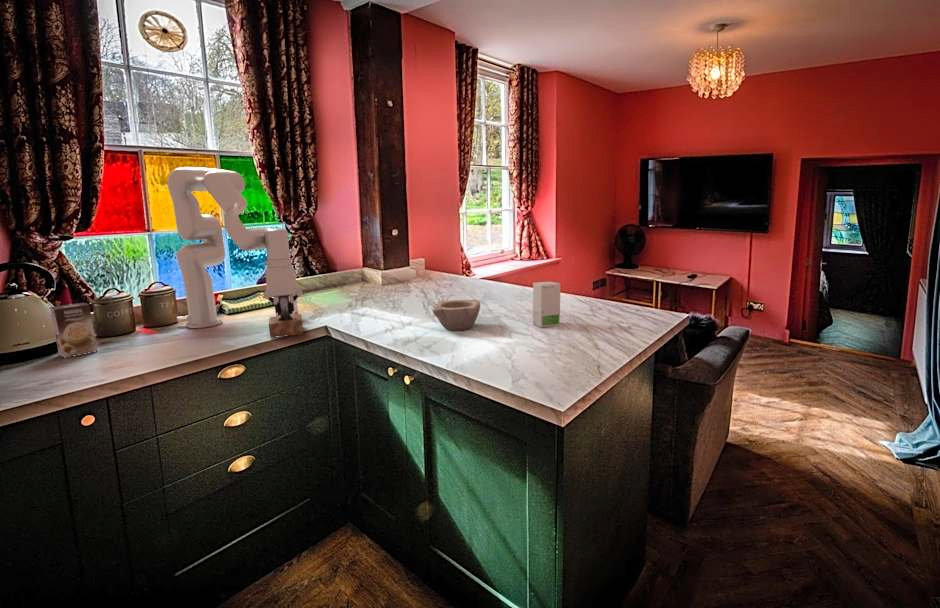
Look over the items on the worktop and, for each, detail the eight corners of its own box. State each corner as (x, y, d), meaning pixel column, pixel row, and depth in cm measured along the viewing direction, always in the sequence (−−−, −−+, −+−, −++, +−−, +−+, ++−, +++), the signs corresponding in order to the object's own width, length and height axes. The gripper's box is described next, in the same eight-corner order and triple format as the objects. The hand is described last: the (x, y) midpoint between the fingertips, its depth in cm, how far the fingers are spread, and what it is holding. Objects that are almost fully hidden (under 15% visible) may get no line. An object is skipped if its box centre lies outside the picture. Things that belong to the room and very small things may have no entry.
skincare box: (540, 328, 177) (540, 285, 173) (531, 324, 183) (531, 282, 179) (560, 325, 180) (561, 283, 176) (551, 321, 186) (551, 280, 182)
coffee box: (63, 359, 156) (53, 309, 152) (58, 355, 160) (48, 307, 156) (98, 351, 163) (89, 304, 159) (93, 348, 167) (83, 301, 163)
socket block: (270, 337, 174) (268, 324, 173) (271, 330, 184) (270, 317, 183) (303, 334, 177) (301, 320, 176) (302, 326, 187) (301, 314, 186)
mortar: (439, 321, 190) (438, 298, 188) (483, 321, 188) (482, 298, 186) (430, 334, 174) (429, 308, 172) (478, 334, 171) (477, 308, 169)
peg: (280, 321, 177) (277, 294, 175) (280, 319, 180) (277, 292, 178) (291, 320, 178) (288, 293, 176) (291, 318, 182) (288, 291, 179)
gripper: (253, 266, 169) (260, 318, 173) (304, 263, 174) (309, 313, 178) (255, 264, 176) (261, 314, 180) (303, 260, 181) (308, 309, 185)
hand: (285, 313), depth 179 cm, fingers closed on peg, 3 cm apart
